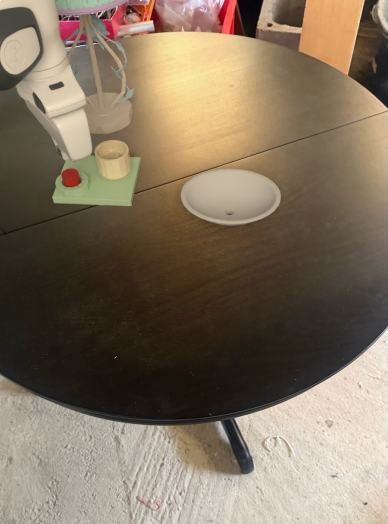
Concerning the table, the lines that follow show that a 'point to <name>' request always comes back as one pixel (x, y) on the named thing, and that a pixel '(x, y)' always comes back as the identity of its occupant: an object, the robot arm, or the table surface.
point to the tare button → (70, 177)
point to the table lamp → (101, 104)
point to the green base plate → (97, 185)
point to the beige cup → (113, 159)
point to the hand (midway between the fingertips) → (65, 155)
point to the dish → (230, 196)
